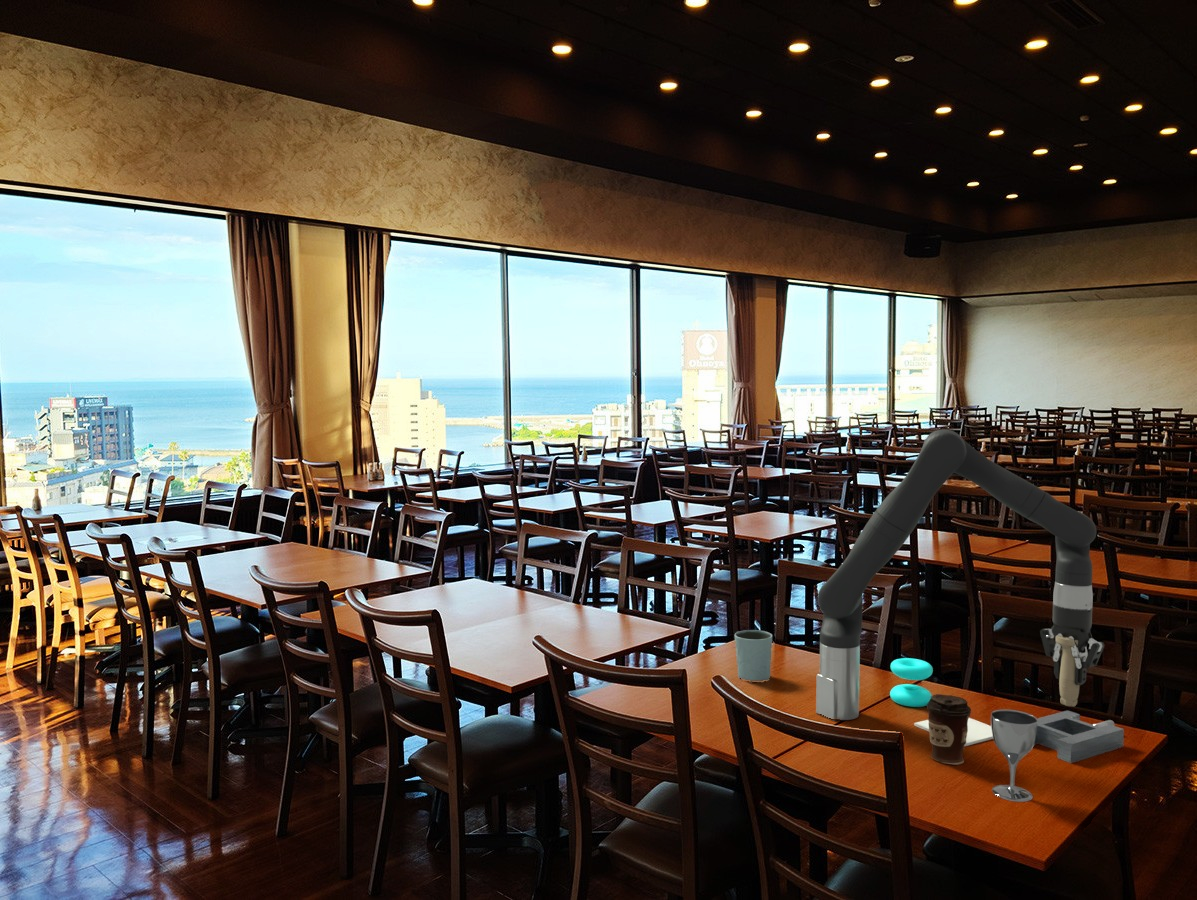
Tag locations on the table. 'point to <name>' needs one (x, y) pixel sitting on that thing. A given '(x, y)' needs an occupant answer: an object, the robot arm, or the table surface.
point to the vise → (1077, 736)
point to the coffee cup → (948, 727)
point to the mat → (974, 734)
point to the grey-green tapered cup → (753, 654)
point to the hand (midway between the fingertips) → (1069, 681)
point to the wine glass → (1013, 747)
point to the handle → (1067, 673)
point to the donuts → (909, 692)
